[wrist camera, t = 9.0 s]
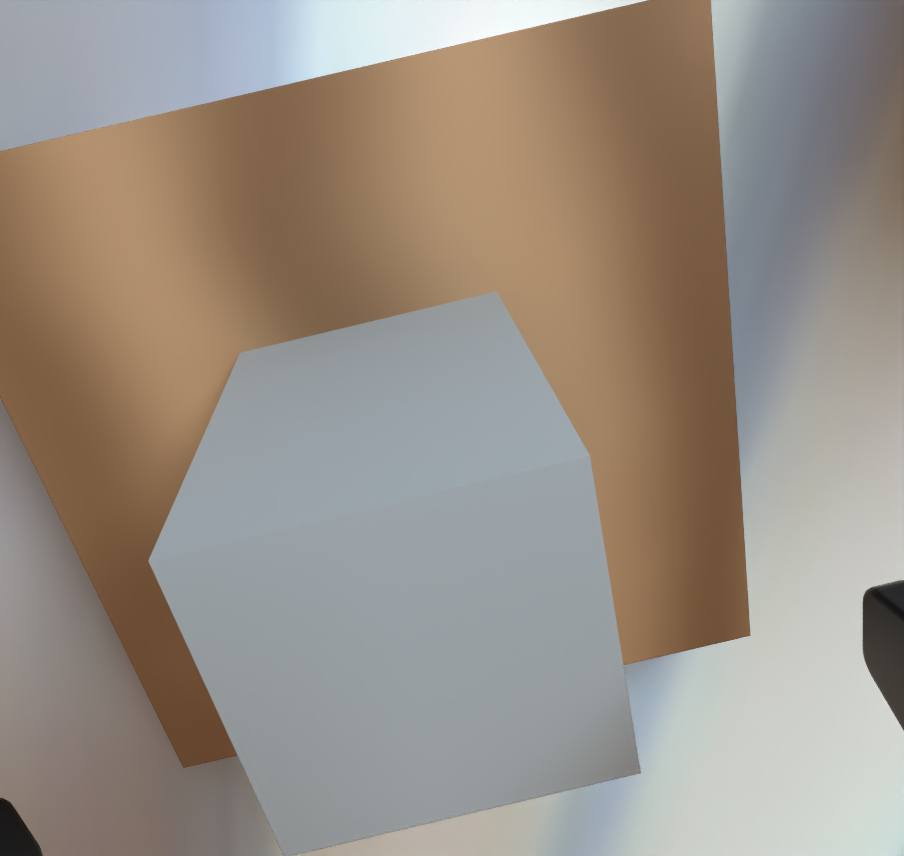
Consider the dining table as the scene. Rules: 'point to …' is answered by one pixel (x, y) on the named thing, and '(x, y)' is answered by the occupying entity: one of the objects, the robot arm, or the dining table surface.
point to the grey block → (399, 579)
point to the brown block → (393, 295)
